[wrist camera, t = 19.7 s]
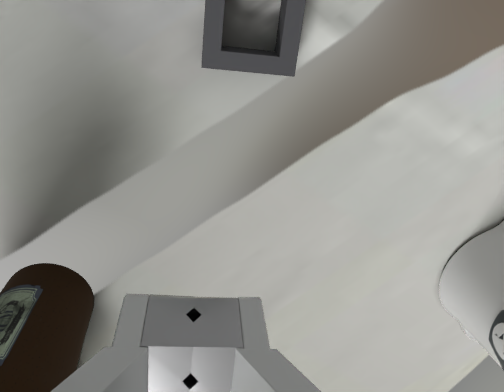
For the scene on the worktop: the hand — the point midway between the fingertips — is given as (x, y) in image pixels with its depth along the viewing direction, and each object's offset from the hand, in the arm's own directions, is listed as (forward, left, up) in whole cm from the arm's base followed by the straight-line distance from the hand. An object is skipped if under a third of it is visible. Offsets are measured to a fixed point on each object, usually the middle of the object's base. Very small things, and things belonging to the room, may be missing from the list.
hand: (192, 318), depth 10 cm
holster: (-4, -4, -34) cm, 34 cm away
